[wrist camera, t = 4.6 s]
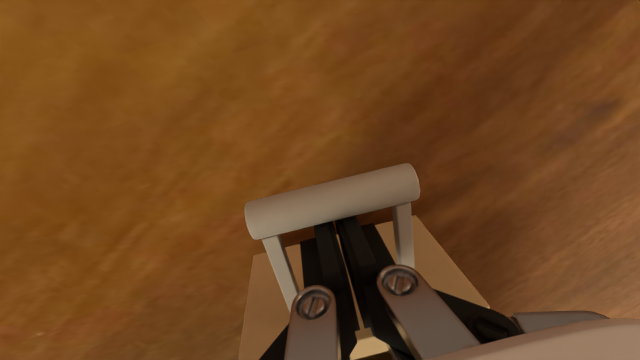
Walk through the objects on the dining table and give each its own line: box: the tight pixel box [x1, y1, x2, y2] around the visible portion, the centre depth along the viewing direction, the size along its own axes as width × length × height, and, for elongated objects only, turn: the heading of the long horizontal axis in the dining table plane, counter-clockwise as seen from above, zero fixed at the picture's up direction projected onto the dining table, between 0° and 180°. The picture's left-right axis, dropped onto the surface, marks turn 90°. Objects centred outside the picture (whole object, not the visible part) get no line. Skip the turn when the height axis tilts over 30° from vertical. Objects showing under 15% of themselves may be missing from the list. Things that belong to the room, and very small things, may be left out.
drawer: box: [238, 163, 490, 360], centre depth 15 cm, size 20×10×7 cm, turn 12°
